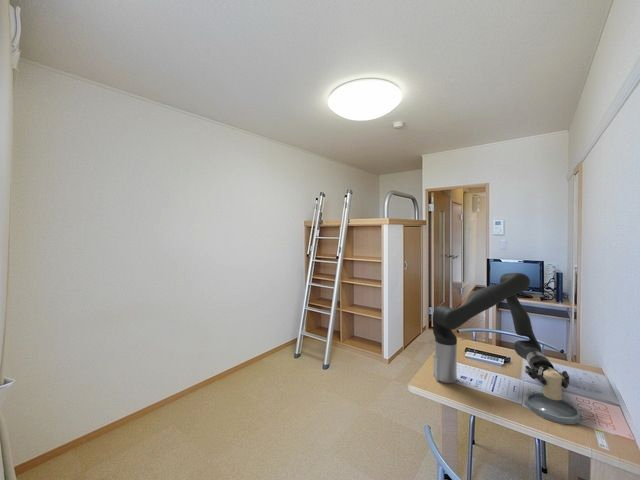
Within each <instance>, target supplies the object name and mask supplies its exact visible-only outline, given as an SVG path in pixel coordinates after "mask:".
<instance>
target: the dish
mask: <svg viewBox="0 0 640 480" xmlns="http://www.w3.org/2000/svg"><path fill="white" fill-rule="evenodd" d="M524 404H525V406H526V407H527V408H528V409H529V410H530V411H531V413H534V414H536V415H537V416H539V417H541V418H543V419H545V420H548V421H551V422H554V423H558V424H562V425H563V424H565V425H576V424H578V423H580V422H581V421H582V419H581V418H582V417H581V411H580V409H579V407H577V406H576V405H574V404H573V403H572V402H570V401H568V400H566V399H564V398H562V399H561V400H552V399H549V398H547V397H545V396H544V395H543V392H536V391H535V392H534V391H533V392H529V393H526V394H525V403H524Z"/></svg>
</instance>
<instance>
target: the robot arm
mask: <svg viewBox="0 0 640 480" xmlns="http://www.w3.org/2000/svg"><path fill="white" fill-rule="evenodd" d="M530 284H531V280H530V277H529V276H528V275H526V274H525V273H522V272H509V273H503V274H502V275H501V276H500V279H499V283H497V284H492V285H488V286H485V287H482V288H480V289H477V290H476V291H475V290H474V292H472V293H470V295H469V296H468V297H467V299H466V301H465V303H463V305H461V306H459V307H456V308H452V307H449V306H446V305H442V304H441V305H438V306H436V307H435V308H434V310H433V312H432V332H433V336H434V354H433V376H434V378H435V379H436V381H437V382H441V383H445V384H454V383H456V382H457V380H458V379H457V377H458V376H457V373H458V372H457V369H458V368H457V366H458V365H457V364H458V363H457V362H458V361H457V360H458V357H457V356H458V355H457V354H458V337H457V336H456V334H454V332H453V331H452V330H455V329H457V328H460V327H461V326H462V325H464V324H465V323H467V322H468V321H469V320H471V319H472V318H474V317H476V316H479V315H480V313H481V314H482V312H485V311H487V310H489V309H491V308H492V307H494V306H496V305H497V304H499V303H501V302H503V301H506V302H507V305H508V309H509V311H510V314H511V318H512V323H513V327H514V331H515V334H516V335H518V336H521V337H526V338H528V339H529V340H528V339H527V340H525V339H523V340H516V341H515V342H514V344H513V348H514V351H515V353H516V354H517V356H519V357H521V358H522V359H523V360H525V361H526V362H527V364H528V365H525V366H524V367H525V368H524V369H525V374H527V375H528V376H529V377H530V378H531V379H533V380H535V379H536V380H538V382H539V383H541V384H542V386H543V385H546V379H545V378H544V377H543V372H544V371H546V370H548V369H554V370H555V371H557V372H558V373H559V374H560V375H561V376H562V389H568V386H569V385H570V376H569V374H568V372H567V371H566V370H562V371H559V370H557V369H556V368H555V367H554V365H553V363H552V362H551V361H550V359H548V358H547V356H546V355H544V354H543V350H542V347H541V345H540V343H539V341H538V340H537V338H536V336H535V334H534V331H533V326H532V321H531V319H530V318H531V317H530V315H529V314H528V312H527V311H526V309H525V308H524V307H523V305H522V304H521V302H520V300H519V298H518V296H517V295H518V294H521V293H523V292H526V291H527V290H528V288H529V287H530Z"/></svg>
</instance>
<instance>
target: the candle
mask: <svg viewBox="0 0 640 480" xmlns="http://www.w3.org/2000/svg"><path fill="white" fill-rule="evenodd" d="M554 369H555V368H554ZM554 369H548V370H546V371H544V372H543V377H544V378H545V379H546V385H543V384H542V393H543V395H544V396H545V397H547V398H549V399H552V400H561V399H563V398H562V397H563V387H562V376H561V375H560V374H559V373H558V372H559V371H558V370H557V371H558V372H557V371H555V370H554Z"/></svg>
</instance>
